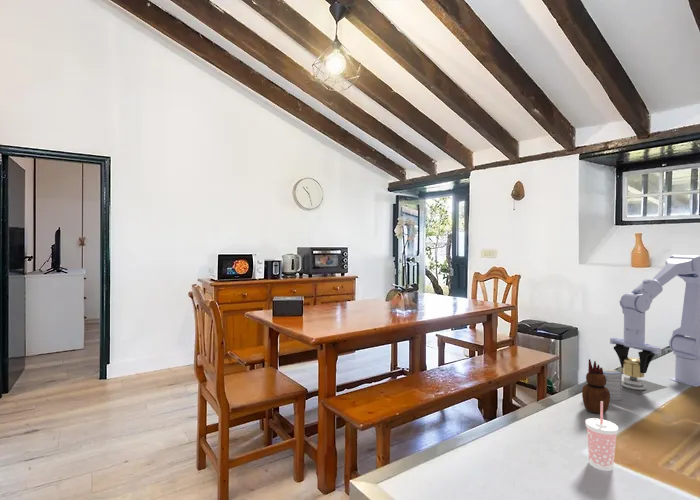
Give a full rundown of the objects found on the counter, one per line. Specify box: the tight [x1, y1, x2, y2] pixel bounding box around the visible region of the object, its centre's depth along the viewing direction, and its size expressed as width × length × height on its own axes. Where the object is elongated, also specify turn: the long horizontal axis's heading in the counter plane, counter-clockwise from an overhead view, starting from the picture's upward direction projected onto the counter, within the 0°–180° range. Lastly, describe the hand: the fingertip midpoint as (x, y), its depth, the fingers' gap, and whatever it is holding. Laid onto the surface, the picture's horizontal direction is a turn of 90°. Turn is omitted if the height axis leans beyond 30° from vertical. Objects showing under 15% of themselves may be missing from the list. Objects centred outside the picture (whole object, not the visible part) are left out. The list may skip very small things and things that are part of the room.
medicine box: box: [587, 368, 623, 401], centre depth 124 cm, size 8×4×9 cm, turn 84°
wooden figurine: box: [581, 359, 611, 414], centre depth 114 cm, size 7×6×15 cm
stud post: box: [622, 376, 647, 391], centre depth 132 cm, size 7×7×6 cm
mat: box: [621, 379, 667, 396], centre depth 133 cm, size 16×10×1 cm, turn 115°
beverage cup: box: [584, 401, 619, 472], centre depth 87 cm, size 6×6×14 cm
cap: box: [622, 356, 645, 379], centre depth 132 cm, size 5×5×5 cm
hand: (633, 370), depth 132 cm, fingers closed on cap, 5 cm apart
